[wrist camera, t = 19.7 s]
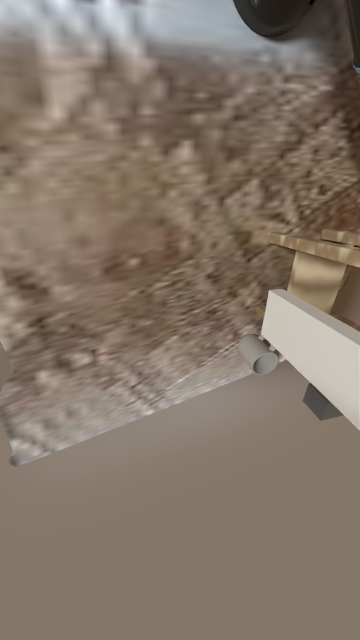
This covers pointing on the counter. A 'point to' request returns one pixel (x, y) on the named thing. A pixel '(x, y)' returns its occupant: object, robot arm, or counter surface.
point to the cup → (257, 354)
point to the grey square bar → (320, 404)
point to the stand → (319, 267)
